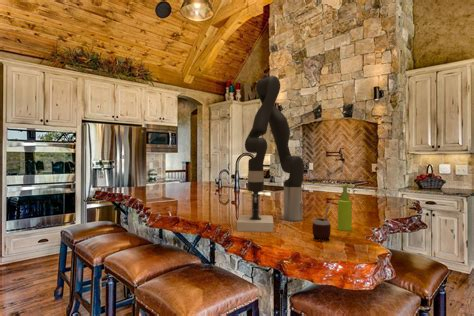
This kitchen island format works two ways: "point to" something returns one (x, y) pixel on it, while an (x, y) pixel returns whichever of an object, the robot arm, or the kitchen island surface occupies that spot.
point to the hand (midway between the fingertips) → (255, 217)
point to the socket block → (255, 223)
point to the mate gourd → (321, 228)
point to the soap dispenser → (345, 211)
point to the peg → (258, 212)
